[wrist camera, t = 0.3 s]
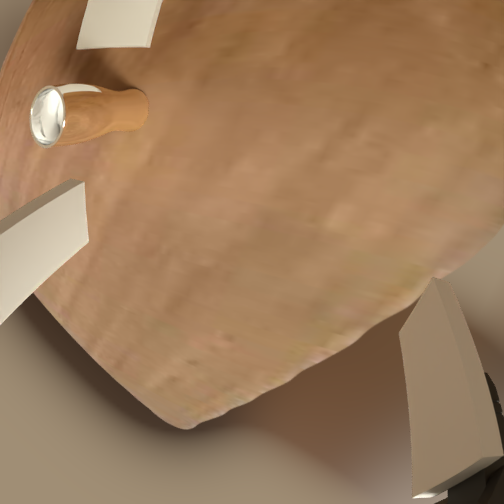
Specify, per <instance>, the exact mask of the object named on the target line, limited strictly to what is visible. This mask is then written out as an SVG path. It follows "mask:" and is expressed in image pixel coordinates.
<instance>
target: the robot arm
mask: <svg viewBox="0 0 504 504" xmlns="http://www.w3.org/2000/svg"><path fill="white" fill-rule="evenodd" d="M88 242H89V238H88V228H87V217H86V204H85V186H84V182H83V181H79V180H75V179H69V180H67V181H65V182H64V183H62V184H60V185H58V186H56V187H55V188H53V189H51V190H49V191H48V192H46V193H44V194H42V195H41V196H39V197H37V198H36V199H34V200H32V201H31V202H29V203H27V204H26V205H24V206H23V207H21V208H19V209H18V210H16V211H15V212H13V213H11V214H10V215H8V216H7V217H5V218H4V219H2V220H1V221H0V324H2V323H3V322H4V320H5V319H6V318H7V317H8V316H9V315H10V314H11V313H12V312H13V311H14V310H15V309H16V308H17V307H18V306H19V305H20V304H21V303H22V302H23V301H24V300H25V299H26V298H27V297H28V296H29V295H30V294H31V293H32V292H34V291H35V290H36V289H37V288H38V287H39V286H40V285H41V284H42V283H43V282H44V281H45V280H46V279H47V278H48V277H49V276H51V275H52V274H53V273H54V272H55V271H56V270H57V269H58V268H59V267H60V266H62V265H63V264H64V263H65V262H66V261H67V260H68V259H70V258H71V257H72V256H73V255H74V254H75V253H76V252H78V251H79V250H80V249H81V248H82V247H83V246H85V245H86V244H87V243H88ZM399 337H400V343H401V350H402V355H403V364H404V370H405V378H406V386H407V397H408V407H409V417H410V431H411V450H412V498H425V497H434V496H436V495H438V494H440V493H442V492H444V491H446V490H448V497H447V498H446V499H443V500H441V501H439V502H437V503H435V504H504V416H503V415H502V409H501V405H500V404H499V397H498V394H497V391H496V387H495V386H494V383H493V382H492V380H491V378H490V377H489V375H488V374H487V373H484V371H483V368H482V365H481V362H480V359H479V356H478V353H477V350H476V347H475V344H474V341H473V339H472V336H471V333H470V331H469V328H468V325H467V323H466V320H465V318H464V315H463V313H462V310H461V308H460V305H459V303H458V301H457V298H456V296H455V294H454V292H453V289H452V287H451V285H450V282H447V281H444V280H441V279H438V278H435V277H432V279H431V281H430V282H429V284H428V286H427V288H426V289H425V291H424V293H423V295H422V296H421V298H420V300H419V301H418V303H417V305H416V306H415V308H414V310H413V311H412V313H411V314H410V316H409V318H408V319H407V321H406V323H405V324H404V326H403V327H402V329H401V330H400V332H399Z"/></svg>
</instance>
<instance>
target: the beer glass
mask: <svg viewBox="0 0 504 504" xmlns="http://www.w3.org/2000/svg"><path fill="white" fill-rule="evenodd" d="M148 113H149V103H148V99H147V97H146V95H145V94H144V93H143V92H142V91H140V90H138V89H126V90H122V91H115V90H111V89H108V88H104V87H101V86H97V85H92V84H86V83H68V84H59V85H49V86H46V87H44V88H42V89H41V90H40V91H39V92H38V93H37V95H36V96H35V98H34V100H33V103H32V106H31V110H30V129H31V133H32V136H33V138H34V140H35V142H36V143H37V144H38V145H39V146H40V147H43V148H50V147H58V146H67V145H73V144H78V143H83V142H86V141H89V140H92V139H95V138H97V137H100V136H102V135H104V134H107V133H109V132H112V131H117V130H119V131H126V132H132V131H135V130H137V129H139V128H140V127H142V125H143V124H144V123H145V121H146V119H147V117H148Z"/></svg>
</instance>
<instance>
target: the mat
mask: <svg viewBox="0 0 504 504" xmlns="http://www.w3.org/2000/svg"><path fill="white" fill-rule="evenodd" d="M162 1H163V0H89V1H88V4H87V8H86V11H85V15H84V18H83V22H82V26H81V30H80V34H79V38H78V42H77V47H76V49H78V50H83V49H98V48H127V47H144V48H150V45H151V41H152V37H153V33H154V29H155V25H156V22H157V18H158V14H159V11H160V7H161V4H162Z"/></svg>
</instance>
